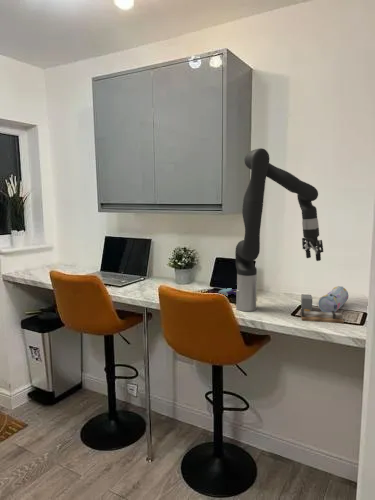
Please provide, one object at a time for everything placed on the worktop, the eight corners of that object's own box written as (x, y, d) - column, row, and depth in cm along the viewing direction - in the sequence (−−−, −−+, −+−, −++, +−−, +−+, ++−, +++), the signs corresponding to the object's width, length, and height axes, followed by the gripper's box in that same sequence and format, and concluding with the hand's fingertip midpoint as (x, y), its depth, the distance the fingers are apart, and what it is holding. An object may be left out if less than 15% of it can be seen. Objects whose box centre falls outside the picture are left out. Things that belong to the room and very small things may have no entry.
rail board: (301, 320, 158) (301, 313, 158) (300, 314, 167) (300, 307, 167) (343, 323, 154) (343, 316, 154) (340, 316, 163) (340, 310, 162)
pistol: (217, 297, 199) (228, 290, 212) (243, 301, 191) (254, 294, 204) (217, 290, 198) (228, 283, 211) (243, 293, 190) (254, 286, 203)
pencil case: (336, 316, 164) (337, 295, 163) (317, 312, 169) (317, 292, 168) (348, 305, 180) (349, 286, 179) (330, 302, 186) (331, 284, 184)
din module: (301, 311, 170) (302, 298, 169) (301, 306, 178) (301, 294, 178) (312, 312, 169) (312, 299, 168) (310, 307, 177) (311, 294, 176)
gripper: (296, 227, 185) (299, 258, 188) (312, 229, 171) (315, 263, 174) (309, 225, 187) (311, 255, 189) (326, 227, 173) (328, 260, 176)
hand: (313, 259), depth 182 cm, fingers open, 8 cm apart
